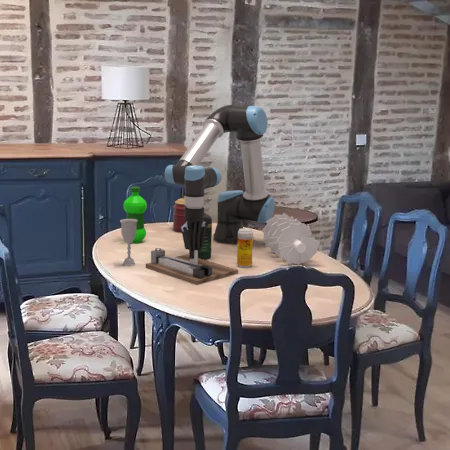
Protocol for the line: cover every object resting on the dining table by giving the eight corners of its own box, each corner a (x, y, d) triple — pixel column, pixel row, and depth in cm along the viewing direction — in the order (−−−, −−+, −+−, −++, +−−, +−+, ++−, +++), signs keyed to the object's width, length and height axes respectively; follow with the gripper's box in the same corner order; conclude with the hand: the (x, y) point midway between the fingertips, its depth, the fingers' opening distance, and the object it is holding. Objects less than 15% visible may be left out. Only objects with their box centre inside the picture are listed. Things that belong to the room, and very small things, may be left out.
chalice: (129, 267, 274) (129, 223, 270) (116, 264, 277) (116, 221, 273) (141, 263, 280) (141, 220, 276) (128, 260, 283) (128, 218, 279)
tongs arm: (163, 263, 274) (163, 256, 273) (167, 262, 275) (167, 255, 275) (208, 276, 259) (208, 268, 258) (211, 274, 260) (212, 267, 260)
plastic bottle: (147, 244, 311) (147, 189, 305) (123, 244, 309) (123, 189, 304) (146, 238, 321) (146, 185, 315) (123, 239, 319) (123, 185, 313)
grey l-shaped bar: (151, 263, 275) (151, 248, 274) (160, 260, 279) (160, 247, 277) (199, 279, 256) (200, 264, 255) (209, 276, 259) (209, 261, 258)
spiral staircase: (289, 276, 281) (268, 257, 304) (326, 256, 283) (302, 239, 306) (273, 238, 274) (253, 222, 297) (311, 218, 277) (288, 203, 300)
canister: (199, 233, 333) (199, 197, 329) (172, 233, 333) (172, 197, 329) (199, 227, 346) (200, 192, 342) (173, 227, 345) (173, 192, 342)
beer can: (241, 268, 276) (242, 232, 273) (234, 264, 281) (235, 228, 278) (254, 266, 279) (255, 230, 276) (247, 262, 284) (248, 227, 281)
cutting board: (186, 257, 290) (186, 254, 289) (238, 273, 269) (238, 269, 269) (145, 267, 274) (145, 263, 274) (196, 284, 254) (196, 280, 253)
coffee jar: (212, 259, 288) (213, 216, 284) (193, 260, 286) (194, 216, 282) (209, 253, 297) (210, 211, 293) (191, 254, 296) (191, 211, 292)
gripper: (200, 203, 269) (199, 261, 274) (175, 207, 260) (174, 267, 265) (213, 206, 264) (212, 265, 269) (188, 210, 255) (188, 271, 260)
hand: (193, 266), depth 267 cm, fingers closed
